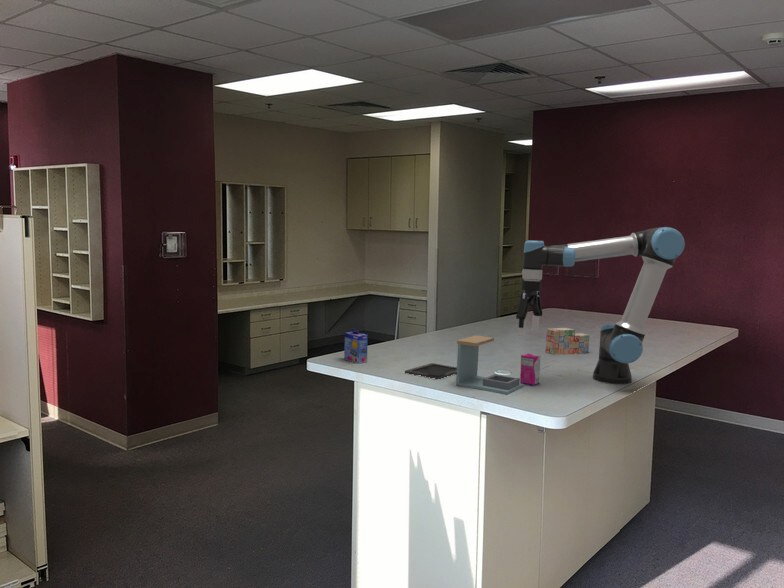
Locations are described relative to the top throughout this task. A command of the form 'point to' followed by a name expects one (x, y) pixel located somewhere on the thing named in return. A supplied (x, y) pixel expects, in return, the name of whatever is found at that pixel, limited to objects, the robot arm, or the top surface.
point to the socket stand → (469, 367)
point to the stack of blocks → (566, 341)
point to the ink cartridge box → (355, 346)
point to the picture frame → (433, 370)
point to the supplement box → (530, 369)
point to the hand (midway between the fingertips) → (528, 334)
